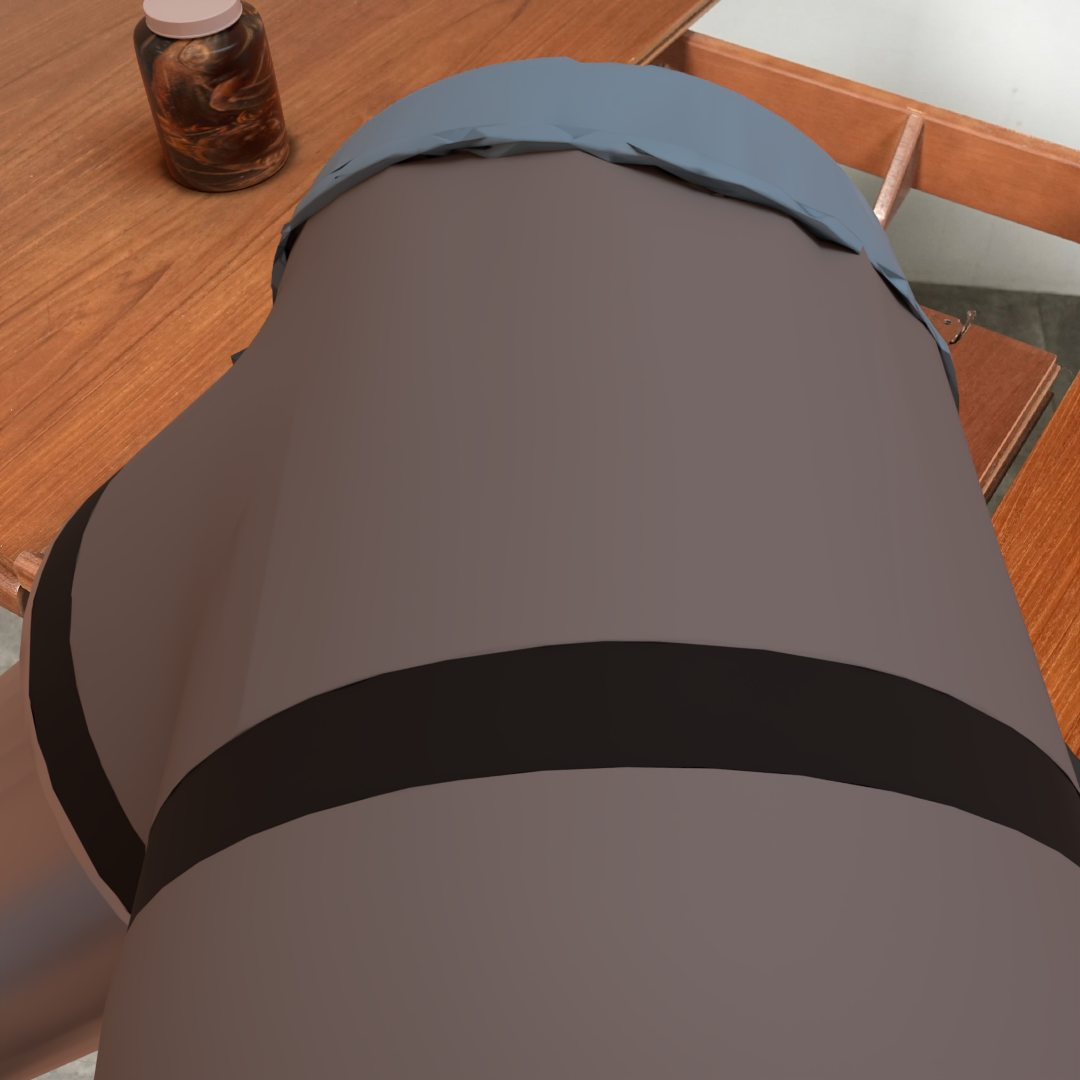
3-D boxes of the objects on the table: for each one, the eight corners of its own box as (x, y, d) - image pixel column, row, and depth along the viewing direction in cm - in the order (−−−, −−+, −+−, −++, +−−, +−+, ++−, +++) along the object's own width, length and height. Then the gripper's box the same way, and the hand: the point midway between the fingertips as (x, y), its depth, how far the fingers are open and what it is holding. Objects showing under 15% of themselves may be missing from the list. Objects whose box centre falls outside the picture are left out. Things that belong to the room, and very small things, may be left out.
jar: (145, 152, 114) (98, -6, 103) (255, 112, 119) (221, -44, 108) (201, 207, 108) (157, 45, 97) (314, 162, 112) (284, 3, 101)
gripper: (953, 1243, 47) (562, 889, 57) (1233, 825, 58) (865, 591, 68) (1004, 1195, 41) (560, 811, 51) (1302, 743, 53) (890, 501, 63)
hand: (733, 685), depth 60 cm, fingers open, 13 cm apart
